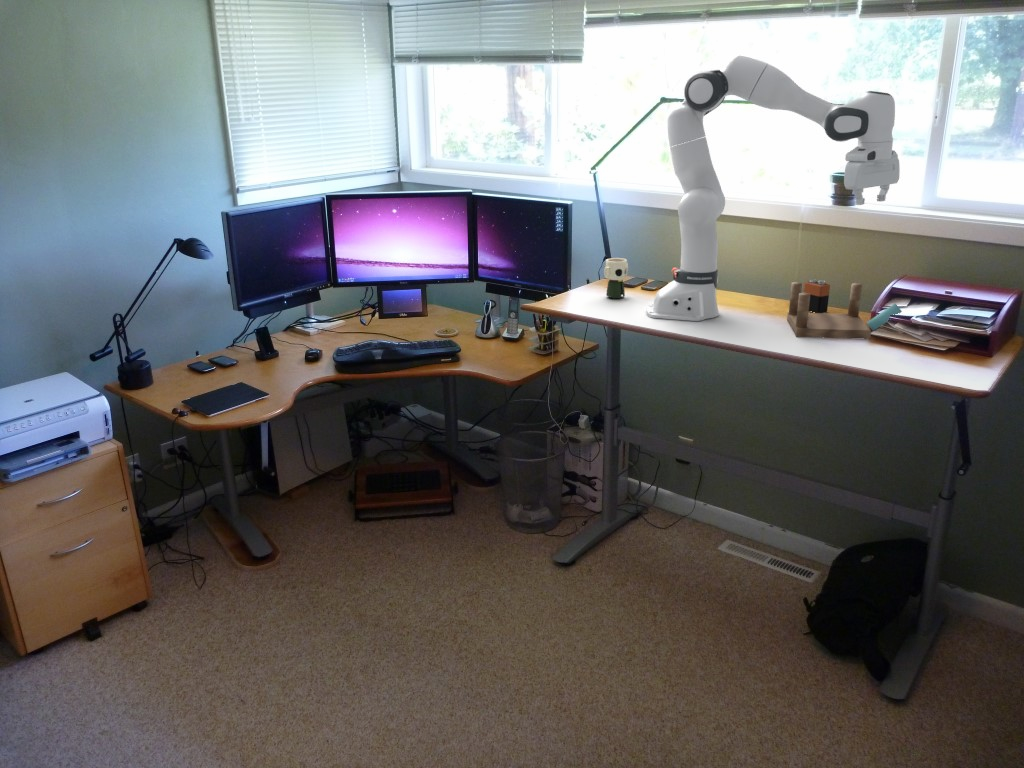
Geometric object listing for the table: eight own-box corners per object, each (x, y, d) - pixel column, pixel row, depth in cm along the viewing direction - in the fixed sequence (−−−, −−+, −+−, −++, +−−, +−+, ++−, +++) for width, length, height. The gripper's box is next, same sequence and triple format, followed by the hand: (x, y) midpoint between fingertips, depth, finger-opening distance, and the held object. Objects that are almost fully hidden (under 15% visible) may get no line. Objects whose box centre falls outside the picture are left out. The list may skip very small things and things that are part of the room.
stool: (796, 336, 238) (800, 295, 234) (786, 320, 255) (790, 281, 251) (870, 339, 235) (875, 297, 231) (855, 322, 252) (860, 282, 248)
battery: (818, 314, 261) (821, 283, 258) (800, 310, 266) (804, 279, 263) (827, 312, 263) (831, 281, 260) (810, 308, 268) (813, 277, 265)
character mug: (611, 302, 280) (612, 263, 276) (596, 298, 285) (597, 260, 281) (634, 296, 286) (635, 259, 282) (619, 293, 291) (620, 256, 287)
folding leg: (867, 324, 234) (896, 304, 231) (865, 321, 237) (893, 302, 234) (874, 332, 235) (903, 312, 232) (871, 329, 238) (900, 310, 235)
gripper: (887, 149, 241) (883, 198, 245) (841, 155, 230) (838, 206, 235) (907, 149, 235) (903, 199, 240) (861, 155, 225) (857, 207, 230)
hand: (870, 203), depth 237 cm, fingers open, 8 cm apart
